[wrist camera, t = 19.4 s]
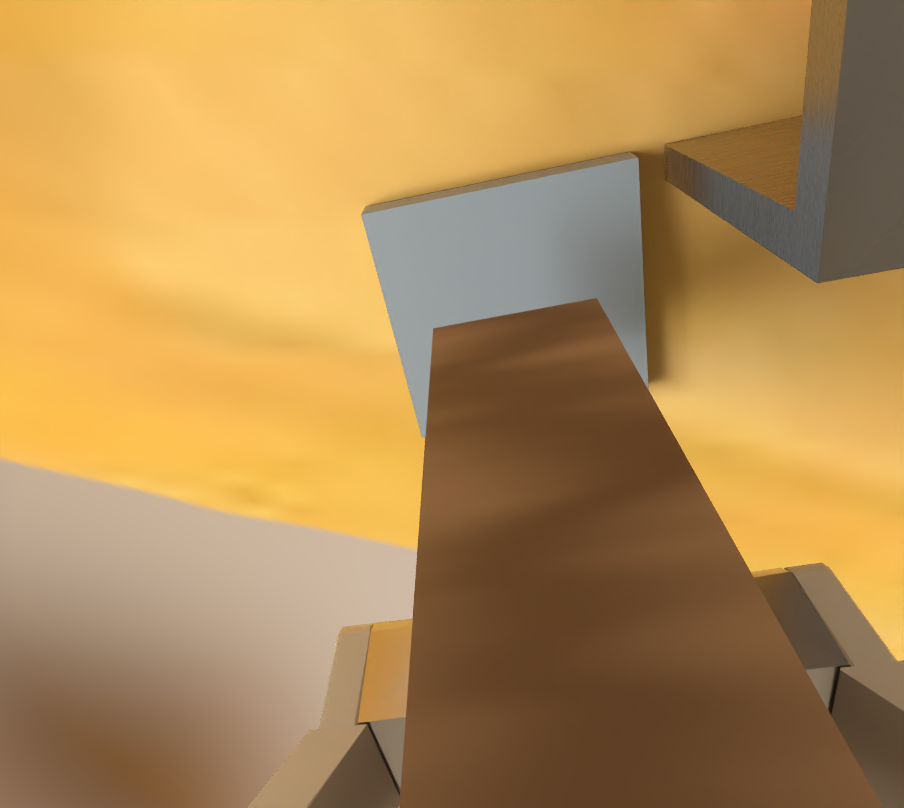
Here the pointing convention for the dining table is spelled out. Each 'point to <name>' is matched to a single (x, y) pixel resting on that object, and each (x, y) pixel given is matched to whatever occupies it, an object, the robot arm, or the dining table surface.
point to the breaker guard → (819, 153)
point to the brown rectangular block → (590, 599)
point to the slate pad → (511, 256)
